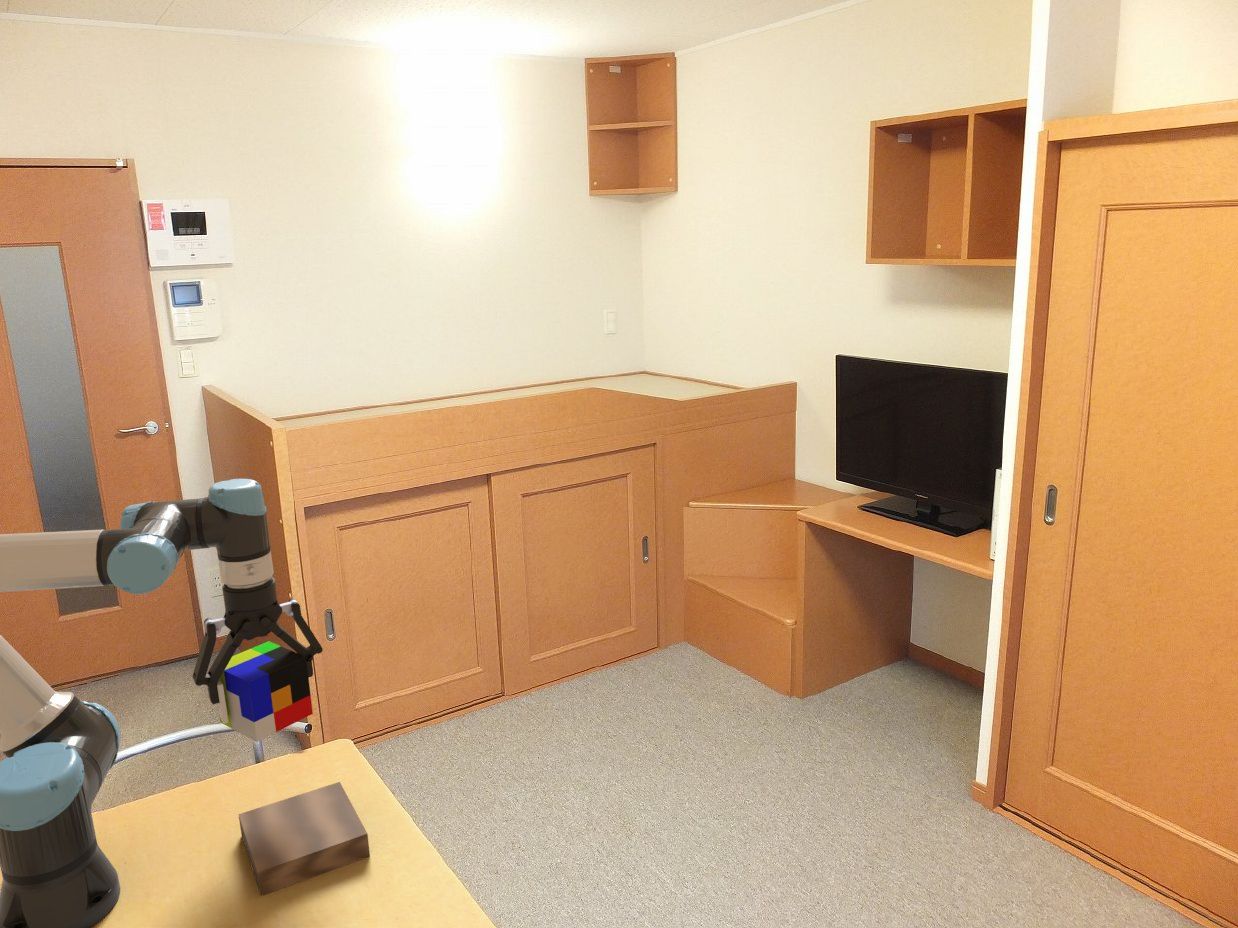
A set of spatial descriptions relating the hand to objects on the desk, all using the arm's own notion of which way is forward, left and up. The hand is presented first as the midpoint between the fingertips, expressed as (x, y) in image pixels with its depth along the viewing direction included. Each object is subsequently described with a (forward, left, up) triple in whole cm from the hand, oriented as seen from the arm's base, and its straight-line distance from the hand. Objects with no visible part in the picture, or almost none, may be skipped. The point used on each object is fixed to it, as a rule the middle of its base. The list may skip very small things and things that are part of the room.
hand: (265, 707), depth 147 cm
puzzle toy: (0, 0, -2) cm, 2 cm away
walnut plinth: (+2, -9, -20) cm, 22 cm away
